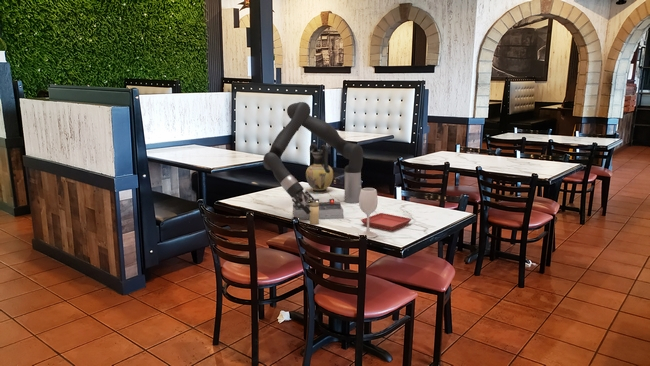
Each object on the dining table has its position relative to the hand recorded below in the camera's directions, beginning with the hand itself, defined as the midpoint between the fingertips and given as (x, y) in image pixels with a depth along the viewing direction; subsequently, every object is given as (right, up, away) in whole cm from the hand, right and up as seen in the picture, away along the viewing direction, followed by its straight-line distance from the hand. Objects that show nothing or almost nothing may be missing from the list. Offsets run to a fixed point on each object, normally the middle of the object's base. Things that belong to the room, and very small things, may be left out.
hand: (313, 211), depth 242 cm
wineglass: (+25, -10, -18) cm, 32 cm away
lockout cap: (+1, -6, +1) cm, 6 cm away
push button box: (+2, -3, +14) cm, 15 cm away
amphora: (+2, +8, +70) cm, 71 cm away
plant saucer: (+35, -7, -2) cm, 36 cm away
